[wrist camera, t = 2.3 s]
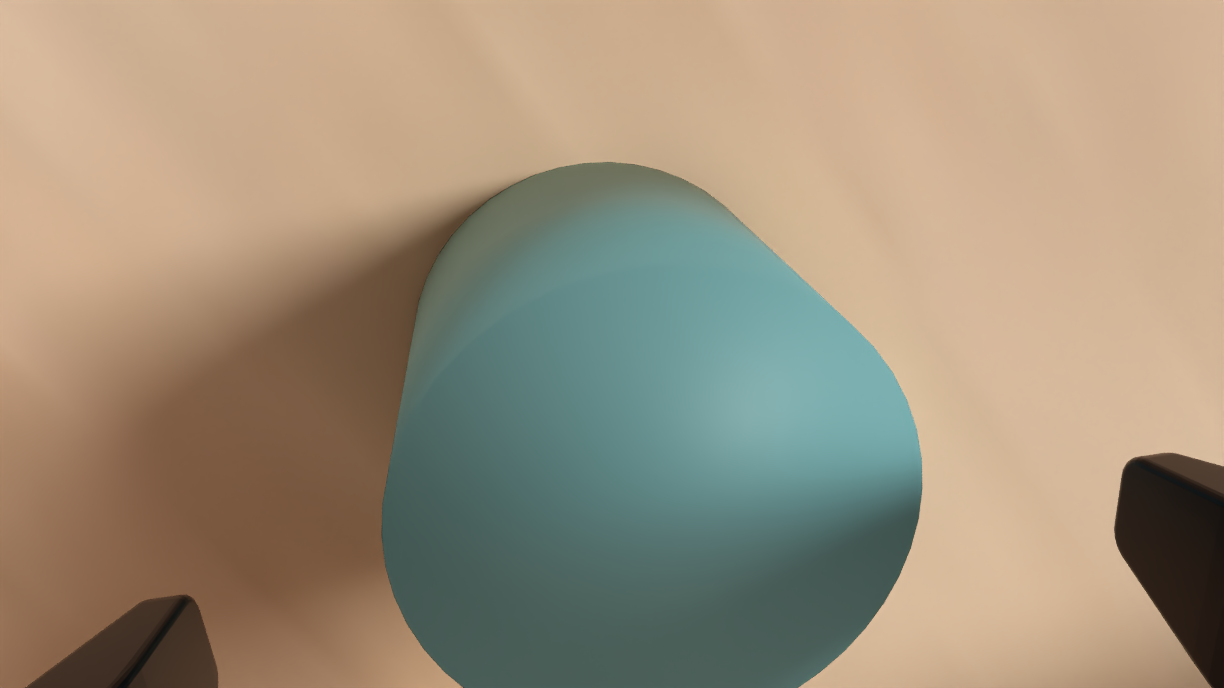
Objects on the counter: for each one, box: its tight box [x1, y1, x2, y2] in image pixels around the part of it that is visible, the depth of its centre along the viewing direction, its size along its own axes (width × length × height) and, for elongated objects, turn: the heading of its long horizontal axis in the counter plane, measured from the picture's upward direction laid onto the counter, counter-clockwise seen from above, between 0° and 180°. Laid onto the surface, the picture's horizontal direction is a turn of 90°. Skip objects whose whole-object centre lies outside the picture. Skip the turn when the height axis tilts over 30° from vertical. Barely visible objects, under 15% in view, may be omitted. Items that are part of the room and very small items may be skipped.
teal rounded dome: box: [382, 162, 922, 688], centre depth 12 cm, size 6×6×5 cm
